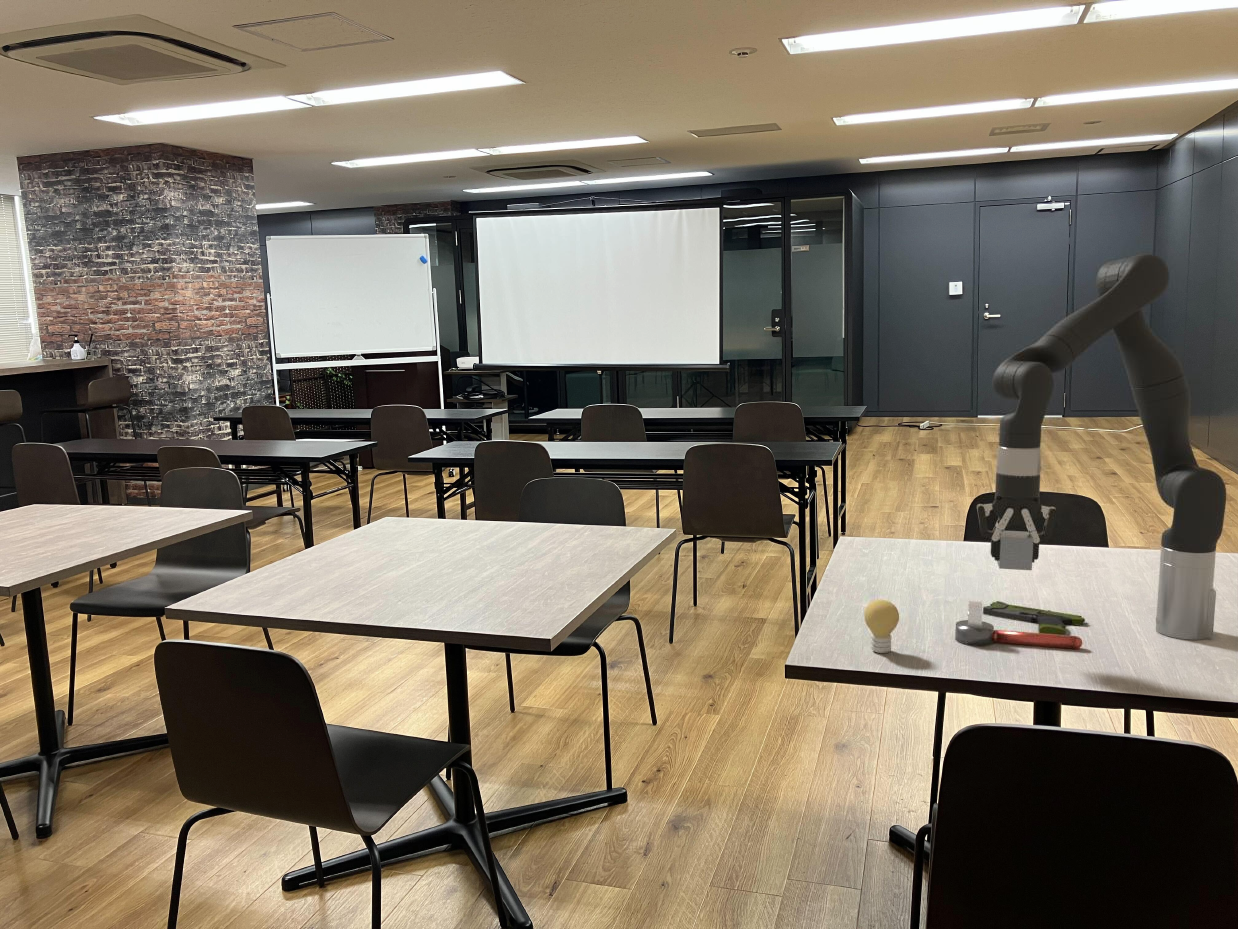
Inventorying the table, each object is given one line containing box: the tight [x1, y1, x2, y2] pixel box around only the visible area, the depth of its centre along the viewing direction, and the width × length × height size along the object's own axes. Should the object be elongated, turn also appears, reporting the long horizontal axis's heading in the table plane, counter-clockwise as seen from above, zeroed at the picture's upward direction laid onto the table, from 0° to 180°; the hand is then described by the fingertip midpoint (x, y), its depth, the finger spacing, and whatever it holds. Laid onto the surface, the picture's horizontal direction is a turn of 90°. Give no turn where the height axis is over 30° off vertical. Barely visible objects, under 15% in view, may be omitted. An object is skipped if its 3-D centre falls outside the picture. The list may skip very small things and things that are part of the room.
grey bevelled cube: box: [996, 530, 1033, 571], centre depth 176 cm, size 6×6×6 cm
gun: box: [982, 600, 1086, 635], centre depth 196 cm, size 2×19×15 cm
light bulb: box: [863, 599, 900, 654], centre depth 180 cm, size 6×6×10 cm
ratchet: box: [954, 600, 1084, 650], centre depth 183 cm, size 23×7×8 cm, turn 71°
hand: (1013, 560), depth 176 cm, fingers closed on grey bevelled cube, 5 cm apart
